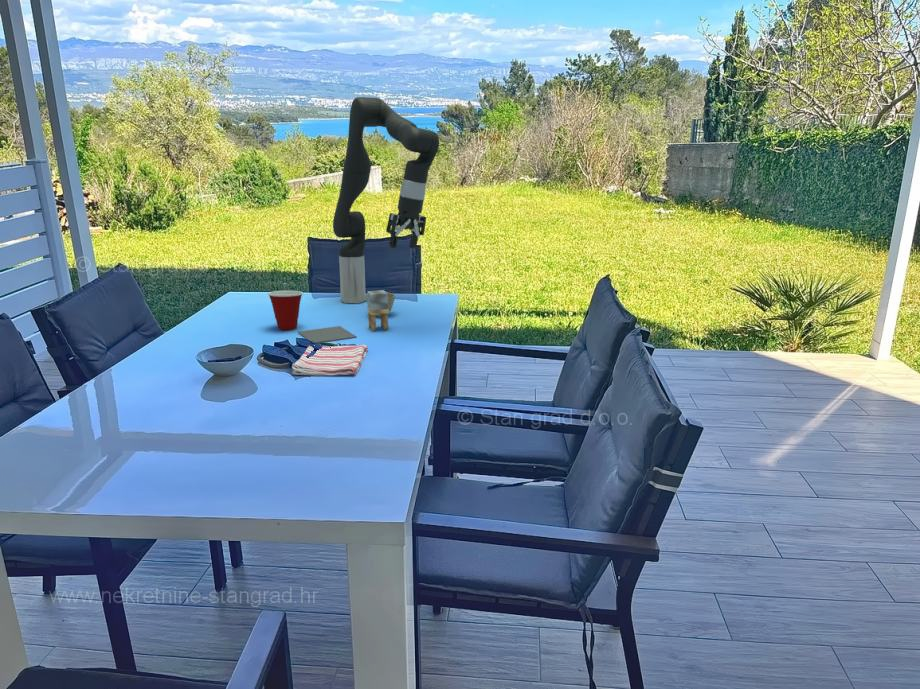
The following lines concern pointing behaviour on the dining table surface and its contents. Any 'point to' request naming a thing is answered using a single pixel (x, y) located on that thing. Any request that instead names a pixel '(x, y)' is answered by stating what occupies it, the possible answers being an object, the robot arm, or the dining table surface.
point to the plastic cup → (286, 308)
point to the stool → (377, 308)
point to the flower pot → (390, 302)
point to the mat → (327, 334)
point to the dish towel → (331, 361)
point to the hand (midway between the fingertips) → (402, 247)
